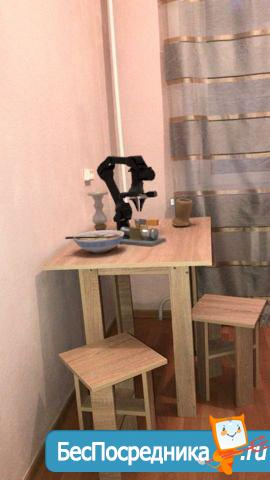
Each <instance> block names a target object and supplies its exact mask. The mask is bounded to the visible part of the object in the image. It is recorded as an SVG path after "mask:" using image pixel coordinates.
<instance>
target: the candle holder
mask: <svg viewBox="0 0 270 480" xmlns="http://www.w3.org/2000/svg"><path fill="white" fill-rule="evenodd" d="M86 194H87V196H88V197H92V199H93V200H94V203H93V208H94V210H95V212H94V214H93V216H92V219H91V220H92V222H93V224H95V225H94V227H93V228H94V230H95V231H101V230H107V227H108V226H107V224H106V223H107V221H108V217H107V215H106V214H105V212H104V211H103V208H104V203H103V198H104V196H105V195H108V194H109V191H103V190H102V191H92V192H91V191H90V192H87V193H86Z"/></svg>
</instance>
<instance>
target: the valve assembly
mask: <svg viewBox="0 0 270 480" xmlns="http://www.w3.org/2000/svg"><path fill="white" fill-rule="evenodd" d="M120 231H122V232H124V235H123V238H122V240H121V241H120V243H119V244H118V245H129V246H138V247H139V246H141V247H156V246H157V245H160V244H162V243H164V242H166V241H167V238H166V237H159V236H160V232H159V229H158V228H155V227H154V228H151V229H150V228H149V226H146V225H133V226H130V228H127V227H121V228H120Z"/></svg>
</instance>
